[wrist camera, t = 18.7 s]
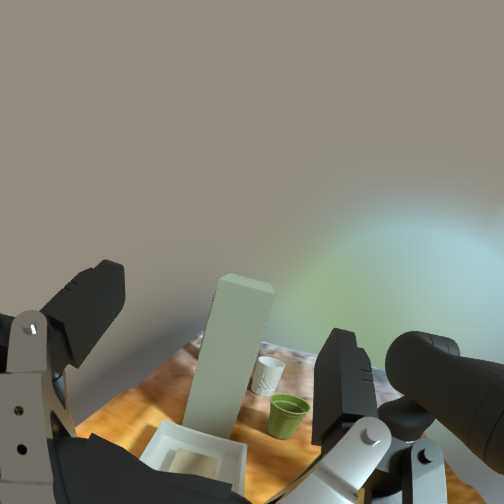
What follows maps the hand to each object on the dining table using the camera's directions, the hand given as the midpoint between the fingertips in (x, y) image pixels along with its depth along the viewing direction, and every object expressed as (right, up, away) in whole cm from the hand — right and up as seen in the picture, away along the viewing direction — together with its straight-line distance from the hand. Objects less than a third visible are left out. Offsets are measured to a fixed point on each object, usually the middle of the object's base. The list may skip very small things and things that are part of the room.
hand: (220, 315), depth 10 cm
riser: (-8, -35, +50) cm, 61 cm away
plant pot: (+7, -39, +47) cm, 62 cm away
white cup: (+4, -39, +68) cm, 78 cm away
